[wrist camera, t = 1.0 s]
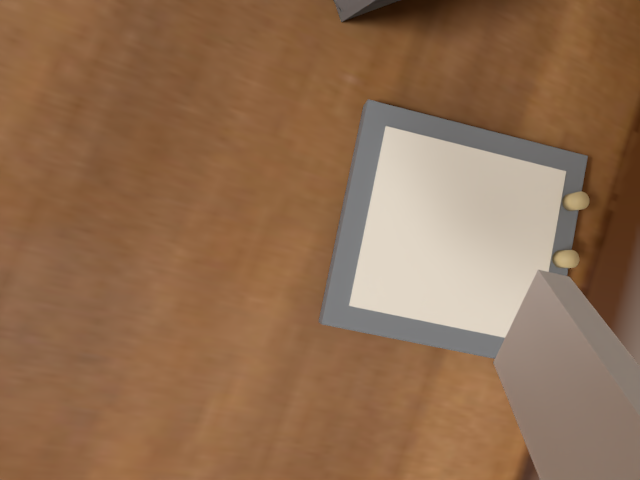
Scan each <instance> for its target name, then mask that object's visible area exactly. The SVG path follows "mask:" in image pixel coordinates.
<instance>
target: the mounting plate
mask: <svg viewBox="0 0 640 480" xmlns="http://www.w3.org/2000/svg"><path fill="white" fill-rule="evenodd" d="M587 158H588V156H586V155H582V154H578V153H574V152H570V151H567V150H563V149H559V148H555V147H551V146H547V145H543V144H539V143H535V142H532V141H528V140H524V139H520V138H516V137H512V136H508V135H504V134H500V133H497V132H493V131H489V130H485V129H481V128H477V127H473V126H469V125H465V124H462V123H458V122H454V121H450V120H446V119H442V118H438V117H434V116H430V115H427V114H423V113H419V112H415V111H411V110H407V109H403V108H399V107H395V106H392V105H388V104H384V103H380V102H376V101H372V100H367V102H366V103H365V104H364V106H363V111H362V115H361V120H360V125H359V130H358V135H357V139H356V144H355V149H354V154H353V159H352V163H351V168H350V173H349V178H348V183H347V188H346V192H345V197H344V202H343V207H342V212H341V216H340V221H339V226H338V231H337V236H336V241H335V245H334V250H333V255H332V260H331V265H330V269H329V274H328V279H327V284H326V289H325V293H324V298H323V303H322V308H321V313H320V318H319V323H321V324H323V325H328V326H333V327H338V328H343V329H348V330H353V331H358V332H363V333H368V334H373V335H378V336H383V337H388V338H393V339H398V340H403V341H408V342H414V343H419V344H424V345H429V346H434V347H439V348H444V349H449V350H454V351H459V352H464V353H469V354H474V355H479V356H484V357H489V358H494V359H495V358H496V356H497V354H498V352H499V350H500V347H501V345H502V343H503V341H504V339H505V337H506V335H507V333H508V331H509V329H510V327H511V325H512V323H513V320H514V318H515V316H516V314H517V312H518V310H519V308H520V306H521V304H522V302H523V300H524V298H525V296H526V293H527V291H528V289H529V287H530V285H531V283H532V281H533V279H534V277H535V275H536V273H537V271H538V270H543V271H547V272H551V273H555V274H560V275H564V276H567V273H568V268H574V267H576V266H577V265H578V263H579V255H578V253H577V252H576V251H574V250H572V244H573V239H574V233H575V227H576V221H577V216H578V210H581V209H585V208H586V207H587V206H588V205H589V197H588V195H587V194H586V193H585V192H582V187H583V181H584V175H585V169H586V164H587Z"/></svg>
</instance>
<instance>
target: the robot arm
mask: <svg viewBox="0 0 640 480" xmlns="http://www.w3.org/2000/svg"><path fill="white" fill-rule="evenodd" d="M493 363H494V365H495V368H496V370H497V373H498V375H499V378H500V380H501V383H502V385H503V388H504V390H505V393H506V395H507V398H508V400H509V403H510V406H511V408H512V411H513V413H514V416H515V418H516V421H517V423H518V426H519V428H520V431H521V433H522V436H523V438H524V441H525V443H526V446H527V448H528V451H529V453H530V456H531V458H532V461H533V463H534V466H535V468H536V471H537V473H538V476H539V478H540V480H640V366H639V365H638V363H637V362H636V361H635V360H634V358H633V357H632V356H631V355H630V353H629V352H628V351H627V350H626V348H625V347H624V346H623V344H622V343H621V342H620V340H619V339H618V338H617V337H616V335H615V334H614V333H613V332H612V330H611V329H610V328H609V326H608V325H607V324H606V323H605V321H604V320H603V319H602V318H601V316H600V315H599V314H598V312H597V311H596V310H595V309H594V307H593V306H592V305H591V304H590V302H589V301H588V300H587V298H586V297H585V296H584V295H583V293H582V292H581V291H580V289H579V288H578V287H577V286H576V284H575V283H574V282H573V281H572V279H571V278H570V277H568V276H564V275H560V274H555V273H551V272H547V271H543V270H538V271H537V273H536V275H535V277H534V279H533V281H532V283H531V285H530V287H529V289H528V291H527V293H526V296H525V298H524V300H523V302H522V304H521V306H520V308H519V310H518V312H517V314H516V316H515V318H514V320H513V323H512V325H511V327H510V329H509V331H508V333H507V335H506V337H505V339H504V341H503V343H502V345H501V347H500V350H499V352H498V354H497V356H496V358H495V360H494V362H493Z"/></svg>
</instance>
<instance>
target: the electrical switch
mask: <svg viewBox="0 0 640 480" xmlns="http://www.w3.org/2000/svg"><path fill="white" fill-rule="evenodd" d="M333 1H334V2H335V4H336V7H337V10H338V14H339V17H340V20H341V22H342V21H345V20H348V19H350V18H353V17H356V16H359V15H361V14H364V13H367V12H370V11H372V10H375V9H378V8H381V7H383V6H386V5H389V4H392V3H394V2H397V1H400V0H333ZM367 5H369V6H367Z"/></svg>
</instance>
